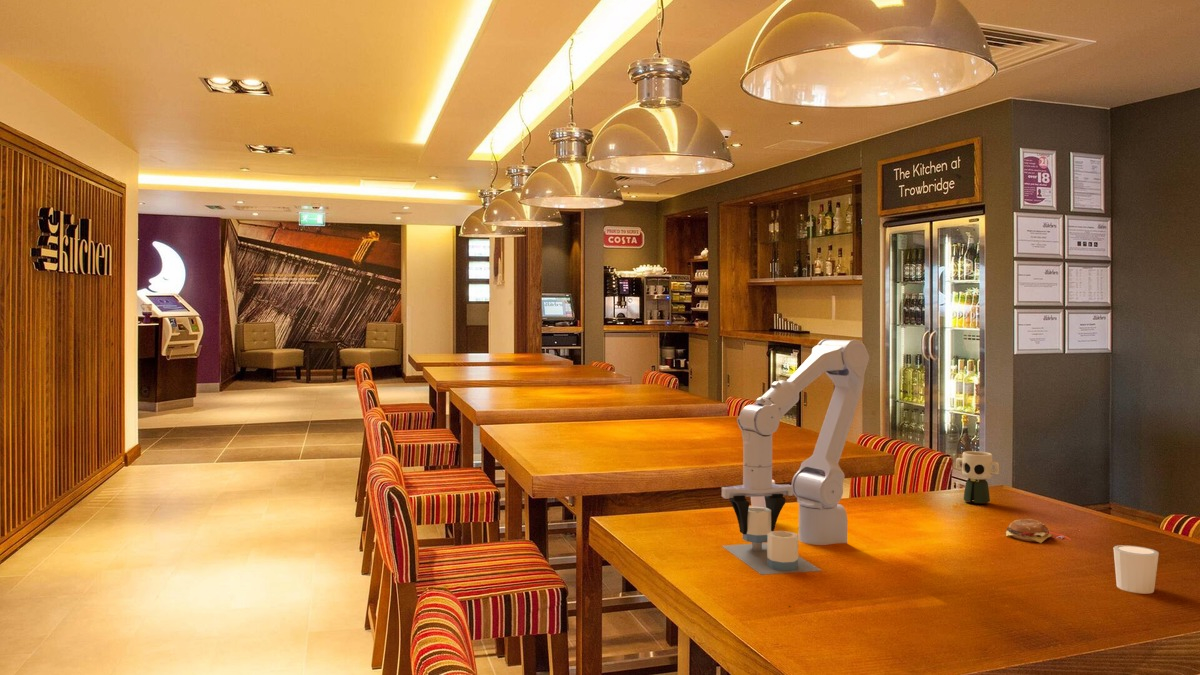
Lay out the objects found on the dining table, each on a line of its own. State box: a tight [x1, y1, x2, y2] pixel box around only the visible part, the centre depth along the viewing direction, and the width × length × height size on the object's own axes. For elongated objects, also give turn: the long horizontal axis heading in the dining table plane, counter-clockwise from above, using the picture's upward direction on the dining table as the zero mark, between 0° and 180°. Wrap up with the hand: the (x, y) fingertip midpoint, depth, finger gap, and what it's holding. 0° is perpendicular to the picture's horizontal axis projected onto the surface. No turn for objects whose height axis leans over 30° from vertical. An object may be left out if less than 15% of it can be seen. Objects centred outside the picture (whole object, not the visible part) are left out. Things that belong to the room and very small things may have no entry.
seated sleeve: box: [766, 530, 799, 571], centre depth 161 cm, size 5×5×6 cm
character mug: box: [955, 450, 1000, 505], centre depth 223 cm, size 11×7×13 cm, turn 46°
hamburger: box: [1005, 518, 1072, 544], centre depth 188 cm, size 14×14×6 cm
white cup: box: [1112, 544, 1160, 595], centre depth 153 cm, size 7×7×7 cm
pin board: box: [721, 542, 823, 576], centre depth 166 cm, size 12×20×6 cm, turn 13°
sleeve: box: [742, 506, 772, 543], centre depth 172 cm, size 5×5×6 cm
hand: (757, 532), depth 172 cm, fingers closed on sleeve, 5 cm apart
